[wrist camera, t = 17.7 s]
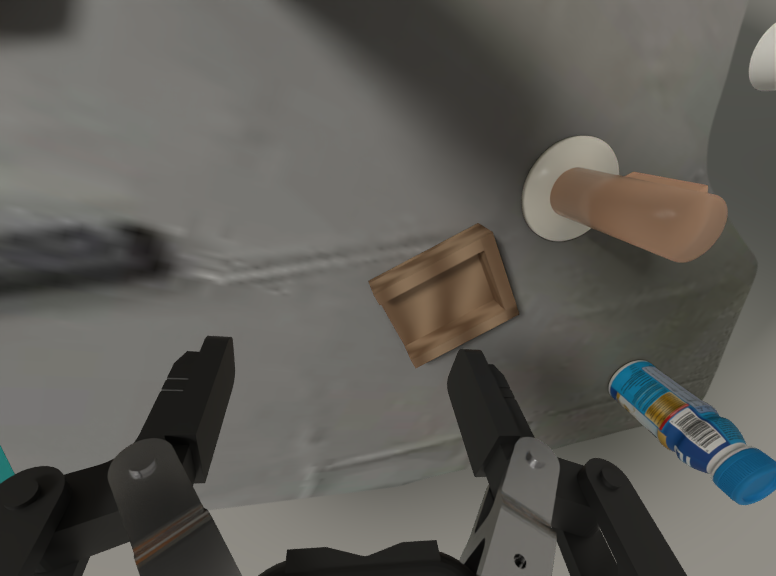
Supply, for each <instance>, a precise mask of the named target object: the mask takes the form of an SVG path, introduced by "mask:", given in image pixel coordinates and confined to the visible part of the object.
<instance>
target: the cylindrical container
mask: <svg viewBox="0 0 776 576" xmlns="http://www.w3.org/2000/svg"><path fill="white" fill-rule="evenodd" d="M749 79H750V82H751V84H752V86H753V87H754V88H755V89H756V90H759V91H775V90H776V23H775V24H773V25H772V26H771V27H770V28H769V29H768V30H767V31H766V32H765V34H764V35H763V36H762V38H761V39H760V41H759V42H758V44H757V46H756V48H755V50H754V52H753V55H752V57H751V61H750V65H749Z"/></svg>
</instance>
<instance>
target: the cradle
mask: <svg viewBox="0 0 776 576" xmlns="http://www.w3.org/2000/svg"><path fill="white" fill-rule="evenodd" d="M369 284H370V287H371V289H372V292H373V294H374V296H375V298H376V300H377V302H378V303H379V305H382V307H383V308H384V310H385V312H386V314H387V316H388V317H389V319H390V321H391V323H392V324H393V326H394V328H395V330H396V331H397V333H398V335H399V337H400V338H401V340H402V342H403V344H404V345H405V348H406V350H407V352H408V354H409V357H410V359H411V361H412V363H413V365H414V366H415V368H417V367H419V366H421V365H423V364H425V363H427V362H429V361H431V360H433V359H435V358H437V357H438V356H440V355H442V354H444V353H446V352H448V351H450V350H452V349H454V348H456V347H458V346H460V345H461V344H463V343H465V342H467V341H469V340H471V339H473V338H475V337H477V336H479V335H481V334H483V333H484V332H486V331H488V330H490V329H492V328H494V327H496V326H498V325H500V324H502V323H504V322H506V321H507V320H509V319H511V318H513V317H515V316H517V315H519V311H518V308H517V305H516V302H515V299H514V296H513V293H512V290H511V287H510V284H509V281H508V278H507V275H506V272H505V269H504V265H503V262H502V259H501V256H500V253H499V250H498V247H497V244H496V241H495V238H494V235H493V232H491V231H490V230H488V229H487V228H485V227H484V226H482V225H480V224H479V223H477V224H476V225H474V226H472V227H470V228H468V229H466V230H464V231H462V232H460V233H459V234H457V235H455V236H453V237H451V238H449V239H447V240H445V241H443V242H441V243H440V244H438V245H436V246H434V247H432V248H430V249H428V250H426V251H424V252H423V253H421V254H419V255H417V256H415V257H413V258H411V259H409V260H407V261H405V262H404V263H402V264H400V265H398V266H396V267H394V268H392V269H390V270H388V271H387V272H385V273H383V274H381V275H379V276H377V277H375V278H373V279H371V280H370V281H369Z"/></svg>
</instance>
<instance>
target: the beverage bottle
mask: <svg viewBox="0 0 776 576" xmlns="http://www.w3.org/2000/svg"><path fill="white" fill-rule="evenodd" d="M609 393H610V395H611V396H612V397H613V398H614V399H615V400H616V401H617V402H619V403H620V404H621V405H622V406H623V407H624V408H625V409H626V410H627V411H628V412H629V413H631V414H632V415H633V416H634V417H635V418H636V419H637V420H638V421H639V422H640V423H641V424H642V425H643V426H644V427H645V428H647V429H648V430H649V431H650V432H651V433H652V434H653V435H654V436H655V437H656V438H657V439H658V440H659V442H660V443H661V444H662V445H663V446H665V447H666V448H667V449H669V450H671V451H674V452H676V454H677V456H678V458H679V459H680V460H681V461H682V462H683V463H685V464H687V465H688V466H690V467H692V468H694V469H697V470H699V471H702V472H705V473H708V474H711V479H712V480H713V482H714V483H715V484H716V485H717V486H718V487H719V488H720V489H721V490H722V491H723V492H724V493H726V495H728V496H729V497H730V498H731V499H732V500H734V501H735V502H736V503H738V504H740V505H748V504H752V503H755V502H758V501H760V500H762V499H763V498H765V497H766V496H768V495H769V494H771V493H772V492H773V491H775V490H776V461H774V460H773V459H772V458H770V457H769V456H768V455H766V454H765V453H763V452H762V451H760V450H759V449H757V448H755V447H752V446H747V445H746V443H745V441H744V438H743V436H742V435H741V433H740V432H739V430H738V428H737V427H736V426H735V425H734V424H733V423H732V422H731V421H730V420H728V419H726V418H723V417H720V416H719V415H718V413H717V411H716V410H715V409H714V408H713V407H712V406H711V405H709V404H708V403H706V402H704V401H702V400H700V399H699V398H697V397H696V396H695V395H693V394H692V393H690V392H689V391H688V390H686V389H685V388H683V387H682V386H681V385H679V384H678V383H676V382H675V381H674V380H672V379H671V378H669V377H668V376H667V375H665V374H664V373H662V372H661V371H660V370H658V369H657V368H656V367H655V366H654V365H652V364H651V363H649V362H647V361H644V360H636V361H632V362H629V363H627V364H625V365H624V366H622V367H621V368H620V369H618V370H617V371H616V372H615V374H614V375H613V376H612V378H611V380H610V382H609Z"/></svg>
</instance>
